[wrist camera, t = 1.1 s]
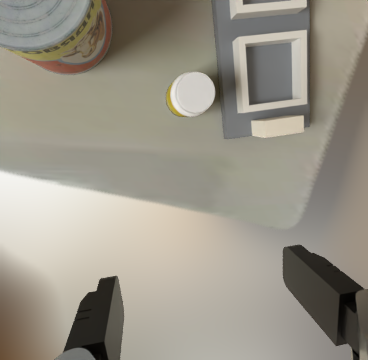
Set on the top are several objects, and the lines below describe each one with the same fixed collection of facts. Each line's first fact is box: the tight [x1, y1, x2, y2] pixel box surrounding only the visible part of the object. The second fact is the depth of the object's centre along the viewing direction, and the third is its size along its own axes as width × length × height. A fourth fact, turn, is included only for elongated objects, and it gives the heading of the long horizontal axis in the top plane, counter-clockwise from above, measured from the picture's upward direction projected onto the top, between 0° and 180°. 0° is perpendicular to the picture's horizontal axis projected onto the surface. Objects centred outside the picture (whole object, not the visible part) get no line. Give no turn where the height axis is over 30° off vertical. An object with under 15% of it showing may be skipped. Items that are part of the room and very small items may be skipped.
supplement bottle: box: [166, 72, 215, 117], centre depth 30 cm, size 5×5×8 cm
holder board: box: [212, 0, 310, 139], centre depth 30 cm, size 26×12×6 cm, turn 7°
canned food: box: [0, 0, 112, 75], centre depth 24 cm, size 11×11×12 cm
